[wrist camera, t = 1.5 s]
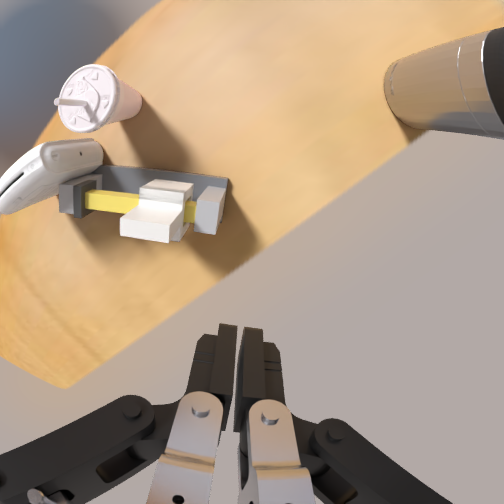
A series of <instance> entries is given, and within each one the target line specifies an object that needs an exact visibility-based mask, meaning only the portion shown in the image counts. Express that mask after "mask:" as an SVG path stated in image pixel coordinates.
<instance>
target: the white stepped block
mask: <svg viewBox="0 0 504 504" xmlns="http://www.w3.org/2000/svg"><path fill="white" fill-rule="evenodd" d="M193 188H194V184H192V183H184V182H176V181H168V180H159V179H155V180H153V181H151V182H149V183H147V184H146V185H144V186H142V187H140V191H139V205H137V206H136V207H135V208H133V209H132V210H130V211H129V212H128V213H126V214H125V215H124V216H122V217H121V218H120V236H126V237H133V238H139V239H145V240H152V241H158V242H164V243H169V242H170V240H171V241H177V242H180V240H181V239H182V237H183V235H184V234H185V232H186V231H187V229H188V227H189V225H190V223H188V222H183V220H184V209H185V202H186V200H187V201H192V197H193Z"/></svg>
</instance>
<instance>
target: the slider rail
mask: <svg viewBox="0 0 504 504" xmlns="http://www.w3.org/2000/svg"><path fill="white" fill-rule="evenodd" d="M155 179H159V180H168V181H176V182H184V183H192V184H194V188H193V197H192V201H187V200H186V202H185V209H184V220H183V222H188V223H195V224H194V232H200V233H207V234H213V235H215V234H216V232H217V229H218V226H219V223H221V222H222V218H223V211H224V204H225V197H226V190H227V184H228V178H224V177H217V176H210V175H203V174H195V173H187V172H179V171H170V170H161V169H151V168H140V167H129V166H116V165H100V166H99V167H98V168H97V169H96V170H94V171H93V172H91V173H90V174H87V175H84V176H80V177H77V178H74V179H71V180H69V181H66V182H63V183H61V184H59V212H61V213H69V214H74V217H75V218H83V217H85V216H86V215H88V214H89V213H91V212H93V211H94V210H101V211H109V212H117V213H124V214H126V213H128V212H129V211H130V210H132V209H133V208H135V207H136V206H137V205H139V191H140V187H142V186H144V185H146V184H147V183H149V182H151V181H153V180H155Z"/></svg>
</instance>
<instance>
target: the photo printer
mask: <svg viewBox="0 0 504 504" xmlns="http://www.w3.org/2000/svg"><path fill="white" fill-rule="evenodd" d="M102 160H103V150H102V147H101V145H100V144H99V143H98V142H96V141H94V139H92V138H85V139H71V140H59V141H50V142H45V143H43V144H40V145H38V146H36V147H35V148H33V149H32V150H30V151H29V152H28V153H26V154H25V155H23V156H22V157H21V158H20V159H19V160H18V161H16V162H15V163H14V164H13V165H12V166H11V167H10V168H9V169H8V170H7V171H6V172H5V174H4V175H3V176H2V177H1V179H0V213H1V214H5V215H8V214H12V213H14V212H16V211H19V210H21V209H23V208H25V207H28V206H30V205H32V204H35V203H37V202H40V201H42V200H45V199H47V198H50V197H53V196H55V195H57V194H59V184H61V183H63V182H66V181H69V180H71V179H74V178H77V177H80V176H84V175H87V174H90V173H91V172H93V171H94V170H96V169H97V168H98V167H99V166H100V165H102V164H103V162H102Z"/></svg>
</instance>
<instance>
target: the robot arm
mask: <svg viewBox="0 0 504 504" xmlns="http://www.w3.org/2000/svg"><path fill="white" fill-rule="evenodd" d="M384 91H385V96H386V99H387V102H388V104H389V106H390V108H391V110H392V111H393V113H394V114H395V115H396V117H398V118H399V119H400V120H401V121H402V122H403V123H405V124H406V125H408V126H410V127H413V128H417V129H426V130H437V131H446V132H456V133H465V134H471V135H478V136H485V137H491V138H497V139H503V140H504V27H503V28H498V29H494V30H490V31H486V32H482V33H478V34H475V35H471V36H468V37H464V38H461V39H457V40H454V41H451V42H447V43H444V44H441V45H438V46H435V47H432V48H429V49H426V50H423V51H421V52H418V53H415V54H412V55H410V56H407V57H404V58H402V59H399V60H397V61H396V62H394V63H393V64H392V65H391V66H390V67H389V68H388V70H387V72H386V75H385V79H384ZM236 339H237V326H235V325H228V324H221V323H220V324H219V330H218V336H216V335H209V334H204V335H203V336H202V337H201V338H200V339H199V340H198V341H197V345H196V350H195V354H194V358H193V363H192V367H191V372H190V376H189V381H188V386H187V390H186V392H185V394H184V396H183V397H182V398H181V399H180V400H178V401H176V402H174V403H171V404H165V405H151V404H150V402H148V401H147V400H146V399H145V398H142V397H140V396H136V395H126V396H122V397H120V398H118V399H116V400H114V401H113V402H111V403H109V404H107V405H105V406H103V407H101V408H99V409H97V410H95V411H93V412H92V413H90V414H88V415H86V416H84V417H82V418H80V419H78V420H76V421H74V422H72V423H70V424H68V425H66V426H64V427H62V428H59V429H57V430H55V431H53V432H51V433H49V434H47V435H45V436H43V437H40V438H38V439H36V440H34V441H32V442H29V443H27V444H25V445H23V446H20V447H18V448H16V449H13V450H11V451H9V452H6V453H4V454H1V455H0V504H85V503H86V502H88V501H91V500H92V499H94V498H96V497H98V496H100V495H101V494H103V493H105V492H107V491H108V490H110V489H111V488H114V487H115V486H117V485H118V484H120V483H122V482H123V481H125V480H127V479H128V478H130V477H132V476H133V475H135V474H136V473H138V472H139V471H141V470H142V469H144V468H146V467H147V466H149V465H150V464H152V463H153V462H154V461H156V460H157V459H159V461H158V464H157V467H156V471H155V474H154V478H153V481H152V485H151V488H150V492H149V495H148V499H147V502H146V504H208V503H209V497H210V490H211V484H212V477H213V472H214V465H215V458H216V451H217V447H218V445H219V441H220V435H221V431H225V429H226V424H227V419H228V415H229V410H230V405H231V401H232V396H233V383H234V368H235V353H236ZM281 371H282V368H281V359H280V352H279V350H278V349H277V347H276V346H275V344H274V343H269V342H263V330H262V329H257V328H250V327H244V330H243V335H242V340H241V345H240V350H239V356H238V363H237V378H236V394H235V411H234V430H233V431H234V432H239V433H240V443H239V446H238V479H239V496H238V504H316V503H315V498H314V495H316V496H317V497H318V498H319V499H320V500H321V501H322V502H323V503H324V504H452V503H451V502H450V501H448V500H447V499H445V498H444V497H442V496H441V495H439V494H438V493H436V492H435V491H434V490H432V489H431V488H429V487H428V486H426V485H425V484H424V483H422V482H421V481H420V480H418V479H417V478H416V477H414V476H413V475H411V474H410V473H409V472H407V471H406V470H405V469H403V468H402V467H401V466H399V465H398V464H397V463H395V462H394V461H393V460H391V459H390V458H389V457H388V456H386V455H385V454H384V453H382V452H381V451H380V450H379V449H378V448H376V447H375V446H374V445H373V444H371V443H370V442H369V441H368V440H366V439H365V438H364V437H363V436H362V435H360V434H359V433H358V432H357V431H355V430H354V429H353V428H352V427H351V426H349V425H348V424H347V423H346V422H344V421H342V420H339V419H333V418H331V419H326V420H323V421H321V422H320V423H319V424H316V423H312V422H308V421H305V420H302V419H300V418H298V417H296V416H294V415H293V414H292V413H291V412H290V410H289V409H288V408H287V406H286V404H285V397H284V387H283V378H282V372H281Z"/></svg>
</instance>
